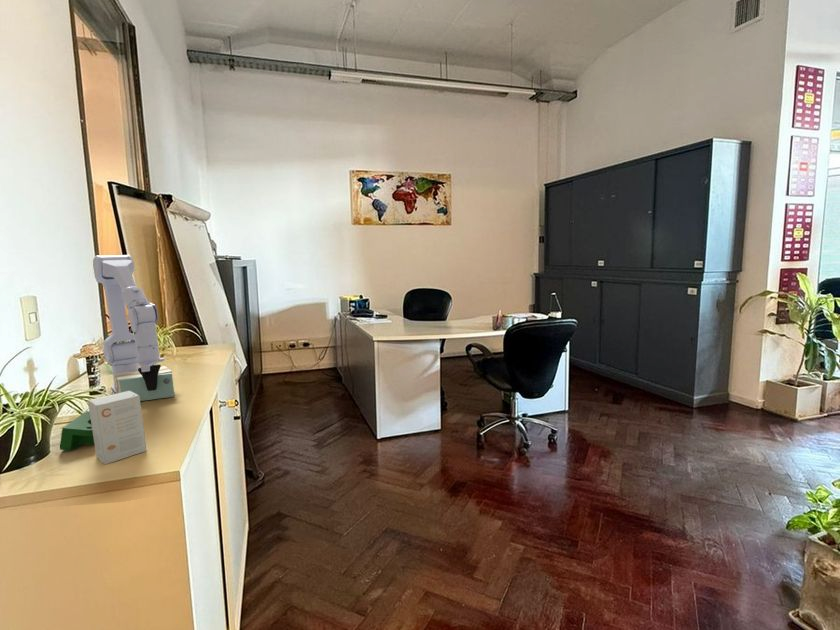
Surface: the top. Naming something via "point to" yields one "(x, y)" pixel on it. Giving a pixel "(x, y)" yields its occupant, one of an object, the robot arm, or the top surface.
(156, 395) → the door
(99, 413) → the small box
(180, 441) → the top surface
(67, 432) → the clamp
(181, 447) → the top surface
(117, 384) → the cabinet
